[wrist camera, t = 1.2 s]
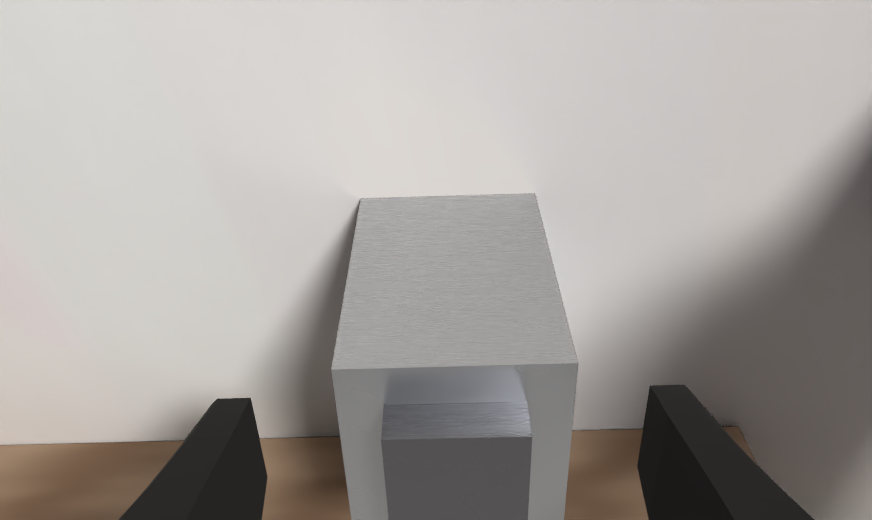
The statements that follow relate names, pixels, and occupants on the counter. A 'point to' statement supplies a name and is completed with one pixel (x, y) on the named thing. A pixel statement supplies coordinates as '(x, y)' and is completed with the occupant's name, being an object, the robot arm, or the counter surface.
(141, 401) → the counter surface
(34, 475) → the socket board
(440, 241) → the plug
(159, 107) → the counter surface
